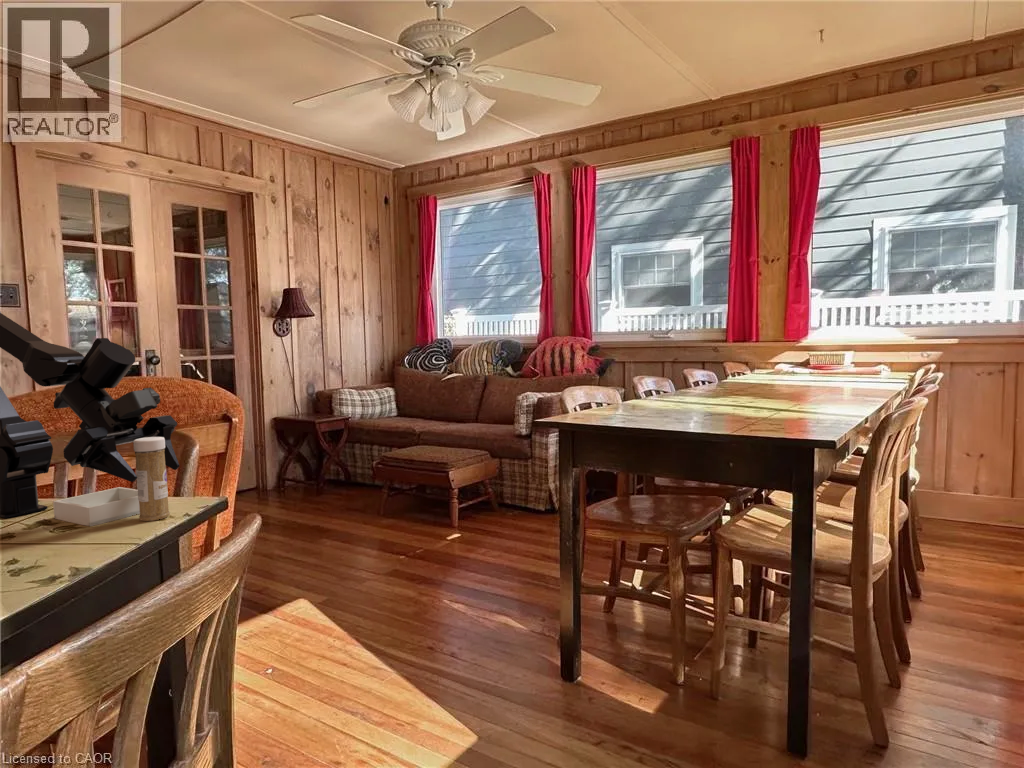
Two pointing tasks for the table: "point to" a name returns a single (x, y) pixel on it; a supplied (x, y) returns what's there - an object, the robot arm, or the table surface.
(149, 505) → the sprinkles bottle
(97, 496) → the grey bin
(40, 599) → the table surface
